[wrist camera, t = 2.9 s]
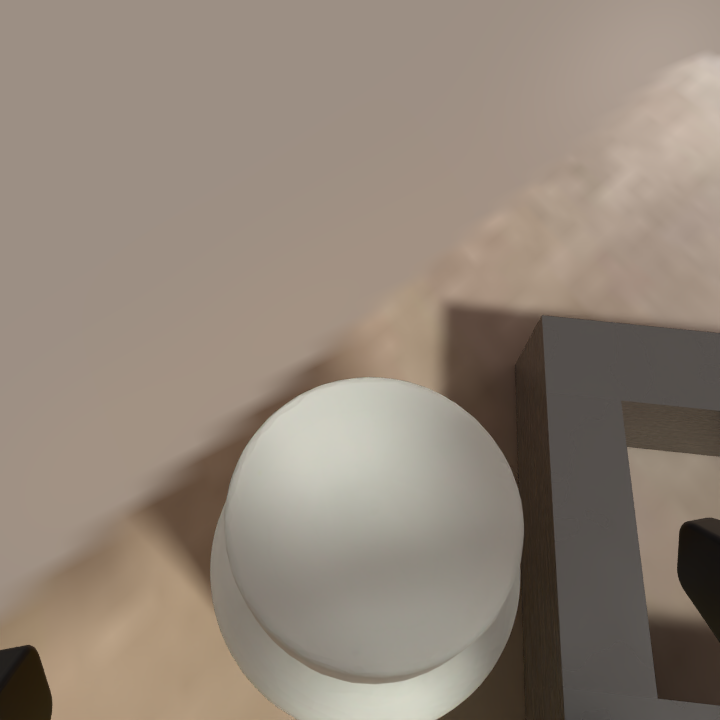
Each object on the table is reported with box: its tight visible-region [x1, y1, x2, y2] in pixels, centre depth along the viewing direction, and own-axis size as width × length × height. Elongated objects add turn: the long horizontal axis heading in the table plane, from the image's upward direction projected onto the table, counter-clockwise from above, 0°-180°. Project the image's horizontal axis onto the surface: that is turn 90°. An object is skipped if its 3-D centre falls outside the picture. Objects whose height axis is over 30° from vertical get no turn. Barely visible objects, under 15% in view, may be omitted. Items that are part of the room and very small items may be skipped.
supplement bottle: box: [210, 377, 524, 720], centre depth 12 cm, size 5×5×10 cm
